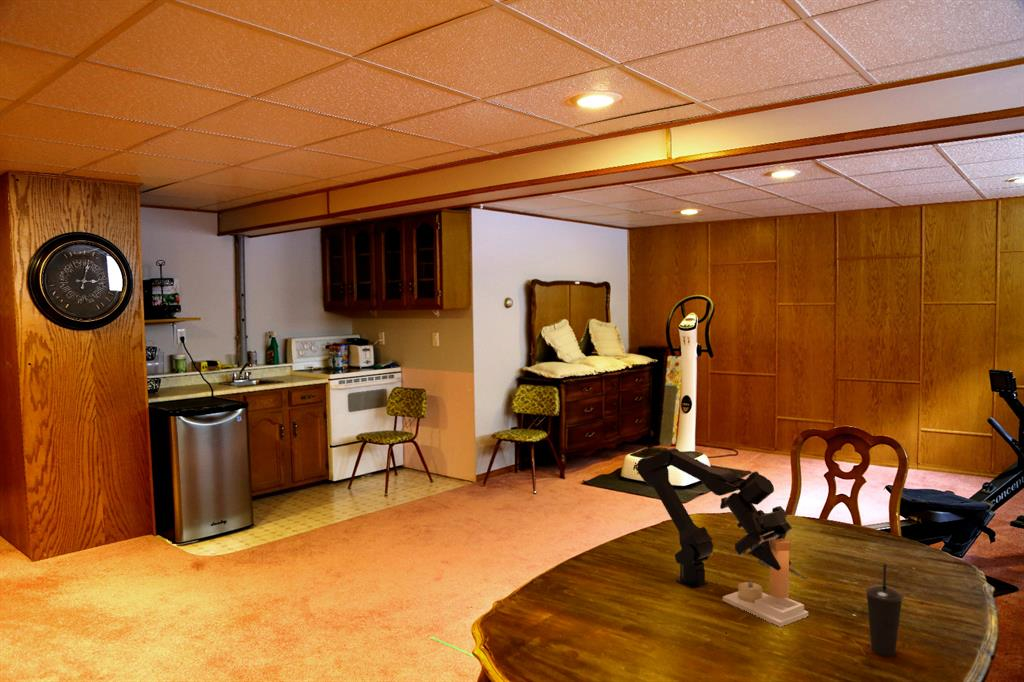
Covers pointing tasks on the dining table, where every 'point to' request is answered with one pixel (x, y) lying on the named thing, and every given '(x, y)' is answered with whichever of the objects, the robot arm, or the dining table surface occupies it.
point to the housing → (766, 605)
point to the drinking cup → (883, 616)
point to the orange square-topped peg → (780, 577)
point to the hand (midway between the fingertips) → (784, 567)
